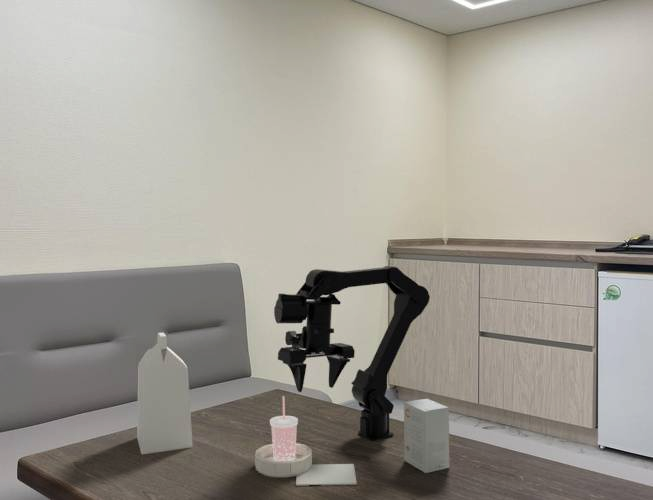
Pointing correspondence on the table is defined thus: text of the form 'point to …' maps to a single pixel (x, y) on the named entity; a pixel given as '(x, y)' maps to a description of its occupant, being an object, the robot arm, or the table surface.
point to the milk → (163, 400)
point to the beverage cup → (284, 436)
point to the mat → (327, 475)
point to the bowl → (283, 462)
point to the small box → (426, 435)
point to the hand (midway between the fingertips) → (315, 389)
